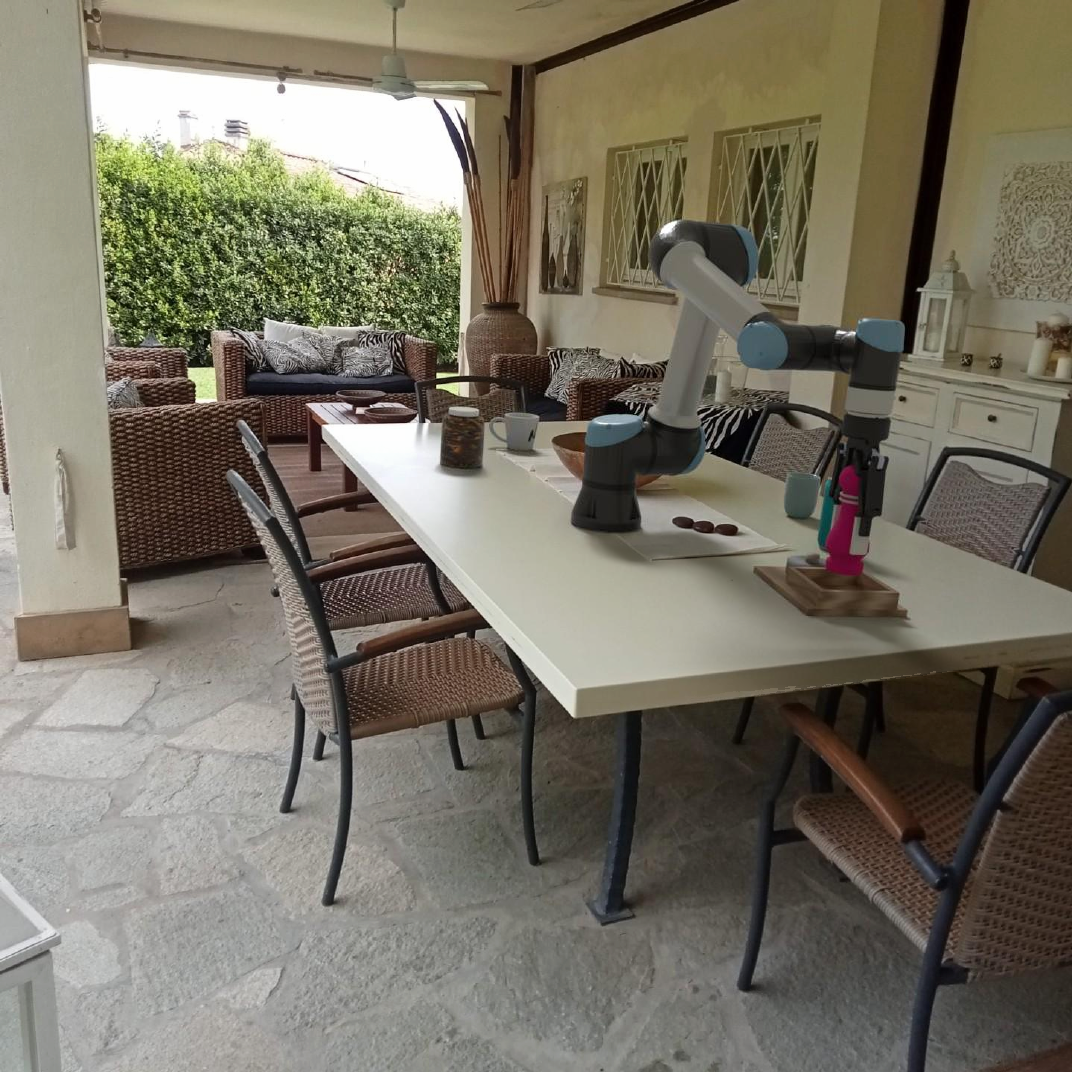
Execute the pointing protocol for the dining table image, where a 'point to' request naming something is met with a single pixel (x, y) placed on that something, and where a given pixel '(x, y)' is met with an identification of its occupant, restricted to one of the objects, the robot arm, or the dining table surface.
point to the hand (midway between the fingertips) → (847, 547)
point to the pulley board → (830, 589)
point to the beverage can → (825, 516)
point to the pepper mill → (845, 529)
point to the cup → (801, 494)
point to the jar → (462, 438)
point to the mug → (518, 430)
